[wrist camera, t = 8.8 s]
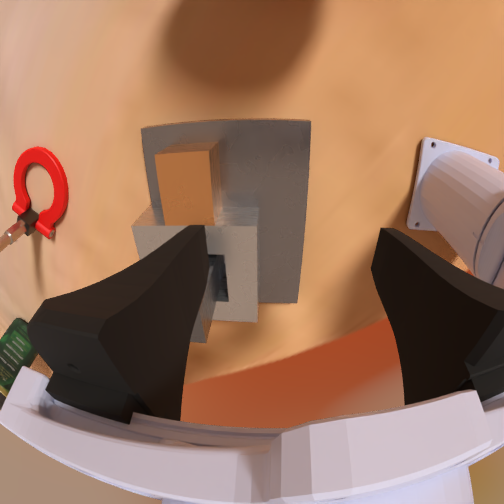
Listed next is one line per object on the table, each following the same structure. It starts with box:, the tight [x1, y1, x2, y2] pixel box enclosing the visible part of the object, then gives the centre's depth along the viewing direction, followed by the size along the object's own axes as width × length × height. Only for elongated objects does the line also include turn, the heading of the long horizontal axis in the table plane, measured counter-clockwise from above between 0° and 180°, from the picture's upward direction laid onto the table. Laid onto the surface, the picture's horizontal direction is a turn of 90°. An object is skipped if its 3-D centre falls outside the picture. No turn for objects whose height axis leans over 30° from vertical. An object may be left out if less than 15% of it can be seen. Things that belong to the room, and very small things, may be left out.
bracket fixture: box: [131, 119, 311, 322], centre depth 20 cm, size 12×16×4 cm
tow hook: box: [0, 147, 68, 252], centre depth 16 cm, size 8×13×9 cm
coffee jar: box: [0, 318, 38, 410], centre depth 30 cm, size 10×8×19 cm
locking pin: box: [190, 254, 225, 343], centre depth 20 cm, size 3×3×8 cm
